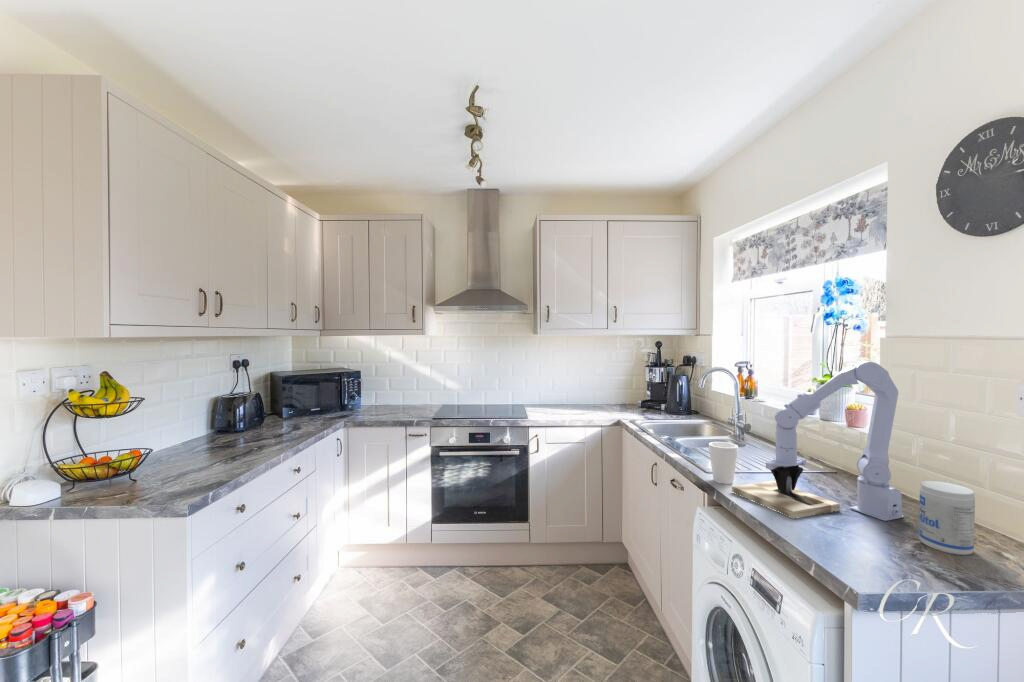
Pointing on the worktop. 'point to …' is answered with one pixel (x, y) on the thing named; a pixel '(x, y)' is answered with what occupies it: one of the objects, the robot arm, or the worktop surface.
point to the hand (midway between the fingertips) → (786, 489)
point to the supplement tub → (947, 517)
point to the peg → (788, 488)
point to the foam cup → (723, 461)
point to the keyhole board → (785, 499)
